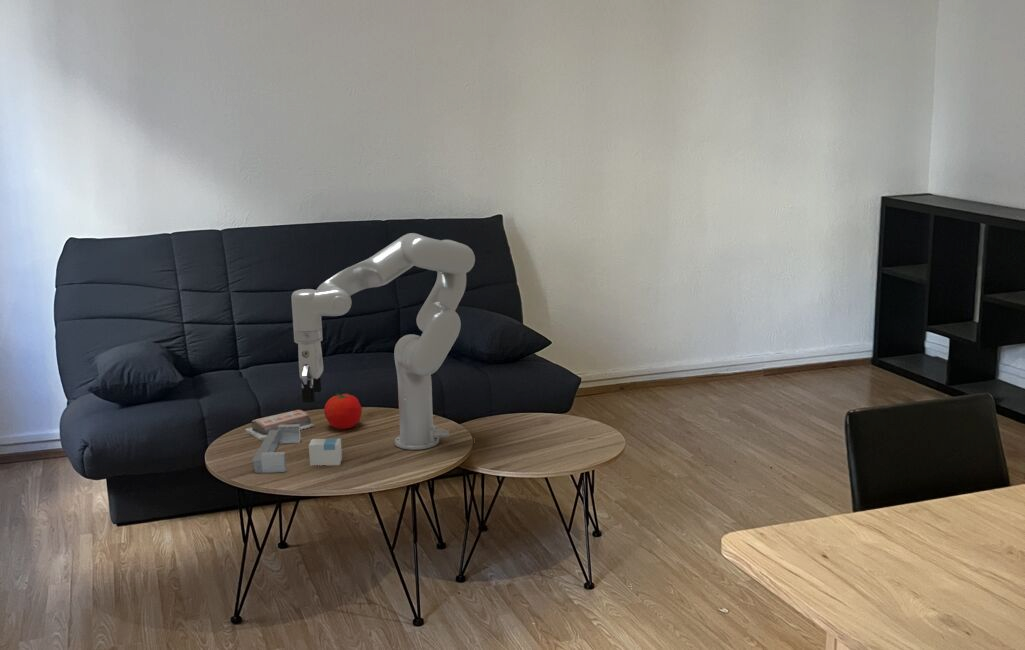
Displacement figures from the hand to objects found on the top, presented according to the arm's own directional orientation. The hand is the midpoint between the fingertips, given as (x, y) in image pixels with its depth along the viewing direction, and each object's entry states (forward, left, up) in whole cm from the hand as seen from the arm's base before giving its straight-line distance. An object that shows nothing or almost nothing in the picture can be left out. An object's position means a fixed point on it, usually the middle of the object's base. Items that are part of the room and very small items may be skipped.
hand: (312, 396), depth 294 cm
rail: (+11, -4, -18) cm, 22 cm away
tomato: (-4, -29, -18) cm, 35 cm away
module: (-3, +2, -18) cm, 19 cm away
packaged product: (+15, -28, -19) cm, 37 cm away
